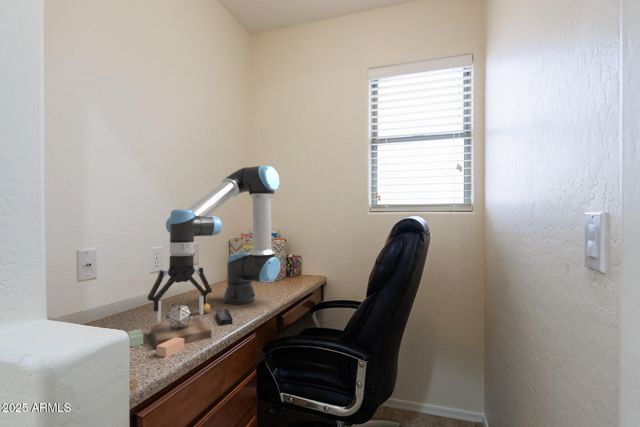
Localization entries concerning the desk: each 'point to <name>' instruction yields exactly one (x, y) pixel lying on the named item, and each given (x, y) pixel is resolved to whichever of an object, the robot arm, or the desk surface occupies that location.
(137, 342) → the sage brick
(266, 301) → the desk surface
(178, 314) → the game die
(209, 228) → the robot arm
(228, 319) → the multiport hub
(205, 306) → the figurine
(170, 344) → the terracotta brick
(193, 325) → the walnut board
